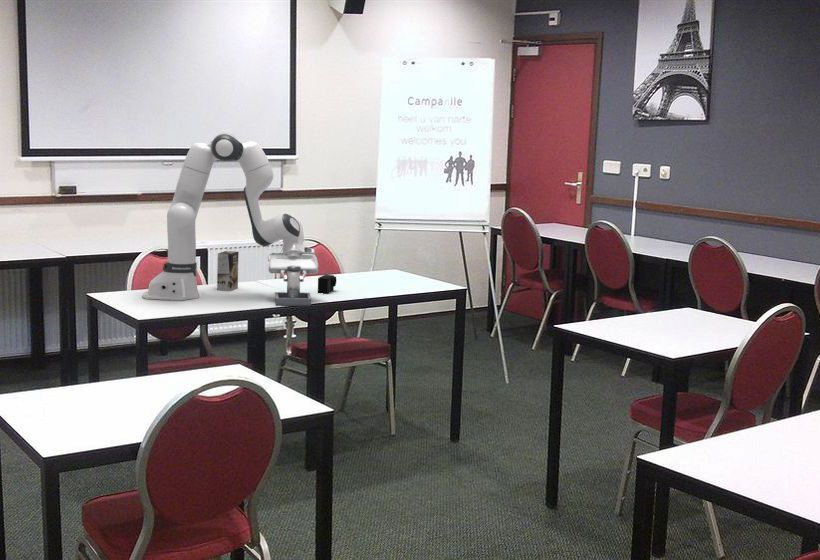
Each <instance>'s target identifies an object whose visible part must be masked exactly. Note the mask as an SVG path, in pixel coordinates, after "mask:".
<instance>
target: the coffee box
mask: <svg viewBox="0 0 820 560" xmlns="http://www.w3.org/2000/svg"><path fill="white" fill-rule="evenodd" d="M216 269H217V272H216V273H217V275H216V278H217V279H216V280H217V282H216V283H217V284H216V290H217V289H218V290H217V291H224V290H226V291H225V292H231V291H233V289H234V290H236V289H238V288H239V251H226V250H225V251H221V252H218V253H217V268H216Z"/></svg>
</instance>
